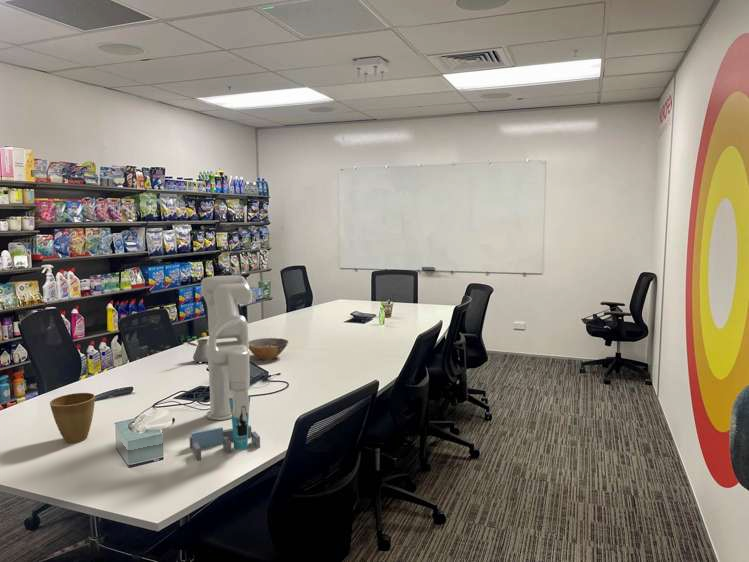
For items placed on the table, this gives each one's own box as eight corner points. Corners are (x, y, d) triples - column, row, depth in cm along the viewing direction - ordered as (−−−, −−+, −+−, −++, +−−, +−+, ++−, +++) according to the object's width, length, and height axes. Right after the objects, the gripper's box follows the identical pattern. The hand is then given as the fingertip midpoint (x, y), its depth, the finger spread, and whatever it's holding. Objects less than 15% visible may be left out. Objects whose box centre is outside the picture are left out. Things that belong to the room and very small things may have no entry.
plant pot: (87, 428, 217) (84, 390, 215) (104, 438, 207) (101, 397, 206) (46, 440, 205) (43, 399, 204) (62, 451, 196) (59, 408, 194)
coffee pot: (200, 358, 327) (199, 334, 325) (217, 359, 324) (216, 335, 322) (178, 367, 306) (177, 341, 305) (196, 369, 303) (195, 342, 302)
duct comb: (189, 446, 200) (189, 431, 199) (250, 435, 211) (249, 420, 210) (196, 460, 188) (196, 443, 188) (260, 447, 199) (259, 431, 199)
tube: (231, 452, 195) (230, 400, 193) (229, 446, 200) (228, 396, 197) (252, 448, 198) (251, 397, 196) (249, 443, 203) (248, 393, 200)
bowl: (297, 356, 331) (296, 340, 330) (268, 365, 311) (268, 348, 309) (266, 351, 345) (266, 335, 344) (237, 359, 324) (236, 343, 323)
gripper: (223, 379, 202) (224, 427, 204) (234, 392, 187) (236, 443, 189) (243, 376, 205) (244, 423, 207) (256, 389, 191) (257, 439, 193)
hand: (240, 432), depth 198 cm, fingers closed on tube, 4 cm apart
